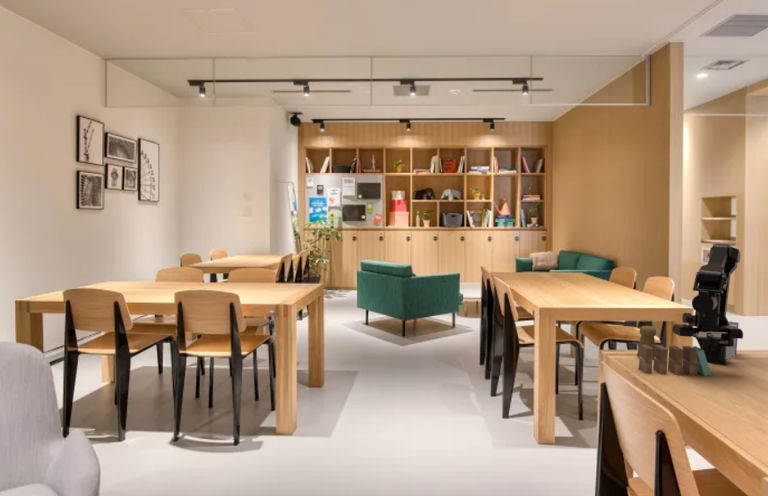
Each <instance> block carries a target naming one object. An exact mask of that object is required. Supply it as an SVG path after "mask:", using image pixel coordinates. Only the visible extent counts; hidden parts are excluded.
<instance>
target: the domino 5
mask: <svg viewBox="0 0 768 496" xmlns="http://www.w3.org/2000/svg"><path fill="white" fill-rule="evenodd" d="M691 347H692V348H694V349H695V350H697V373H699V374H701V375H702V376H704V377H706V376H707V377H708V376H710V375H712V373H711V368H710V366H709V362H707V359H706V356H705V353H704V350H702V349H700V347H699V346H695V345H694V346H691Z"/></svg>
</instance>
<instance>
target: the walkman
mask: <svg viewBox="0 0 768 496" xmlns="http://www.w3.org/2000/svg"><path fill="white" fill-rule="evenodd" d="M729 323H730V326H734V327H736V328H739V322H736V321H731V320H730V321H729ZM726 342H728V341H726ZM737 346H738V338H734V346H730V347H728V346H727V347H726V359H735V358H736V355H737V351H738V349H737V348H738V347H737Z"/></svg>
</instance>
